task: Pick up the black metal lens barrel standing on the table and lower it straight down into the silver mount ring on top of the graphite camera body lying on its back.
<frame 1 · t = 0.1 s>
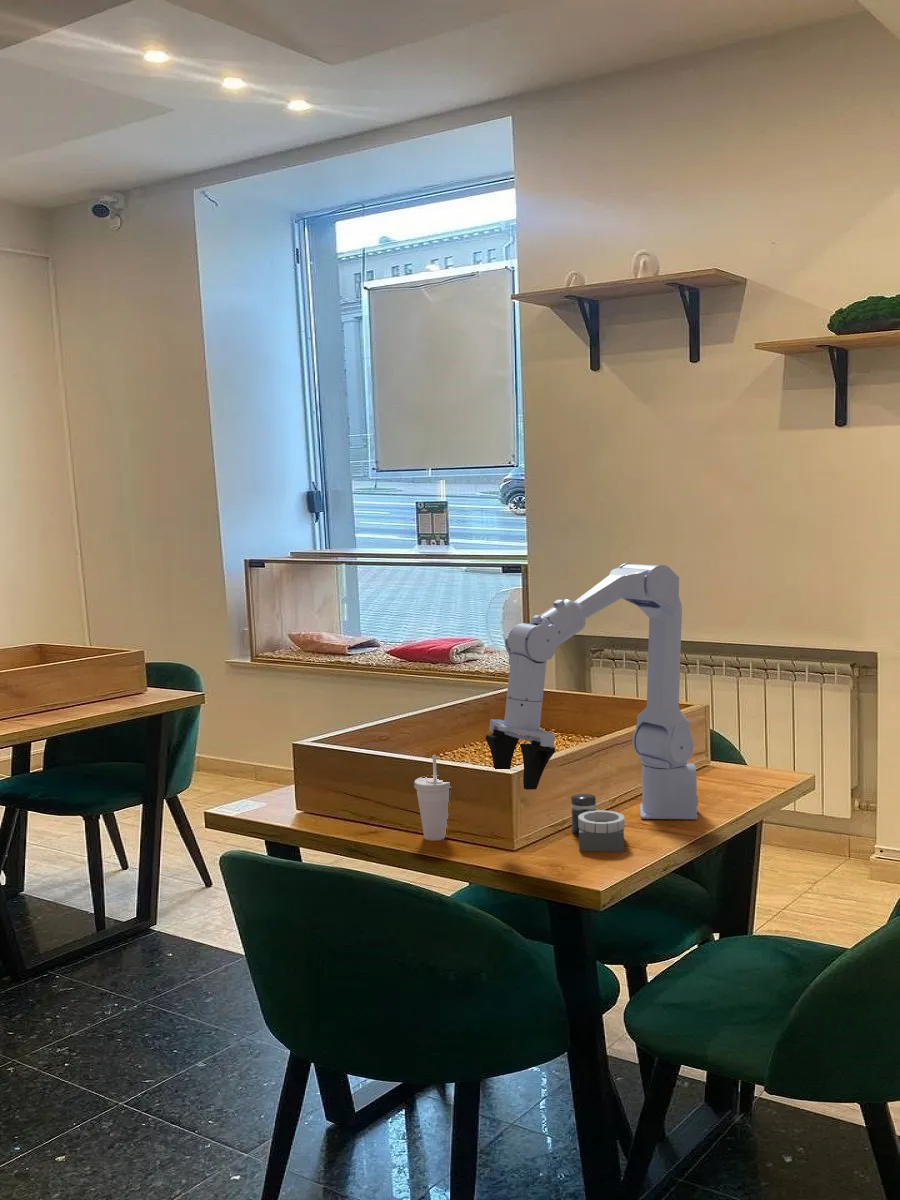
hand: (515, 784, 180), 10 cm above the table, tool pointing down, fingers open, 7 cm apart
camera body: (601, 844, 181), on the table
smoothie: (435, 838, 188), on the table
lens: (584, 832, 188), on the table
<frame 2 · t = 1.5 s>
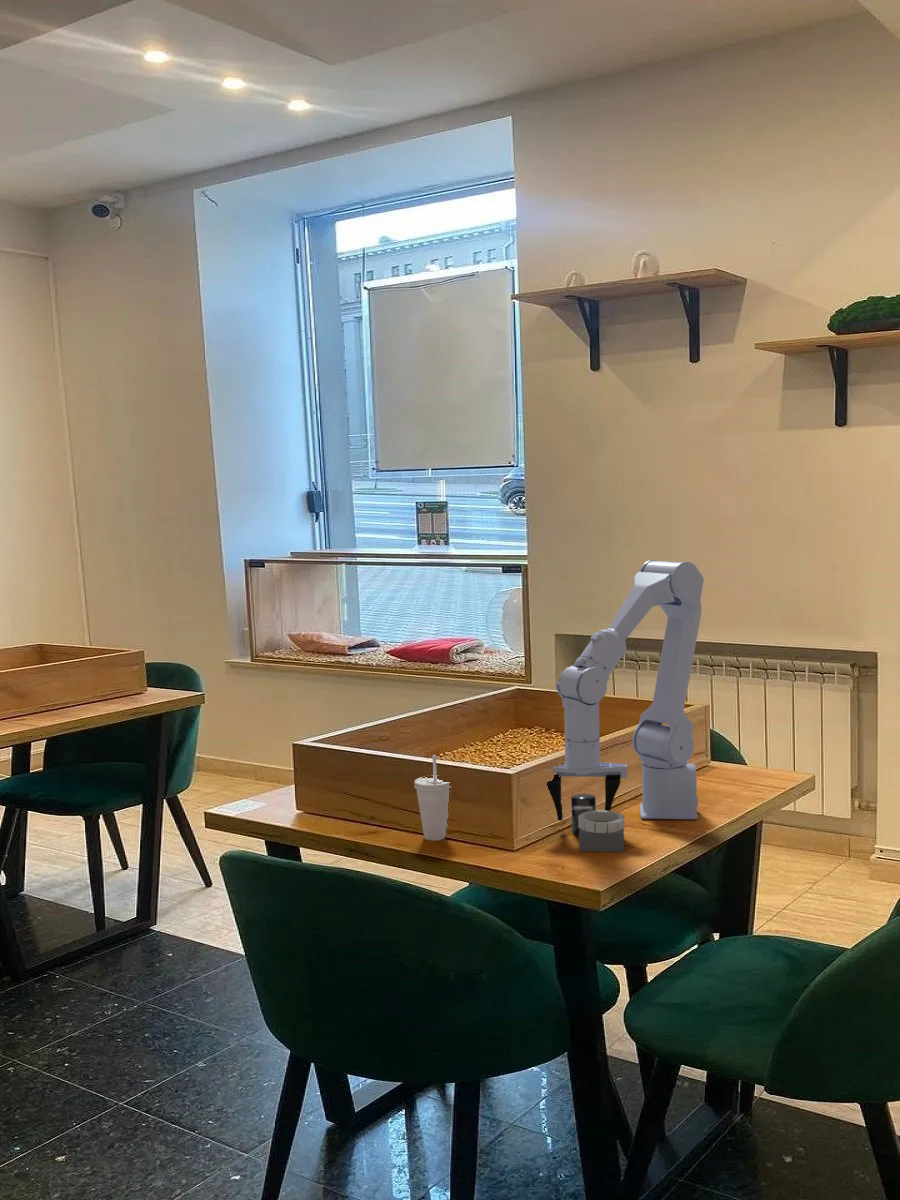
hand: (583, 819, 188), 2 cm above the table, tool pointing down, fingers open, 7 cm apart
nothing on the table moved.
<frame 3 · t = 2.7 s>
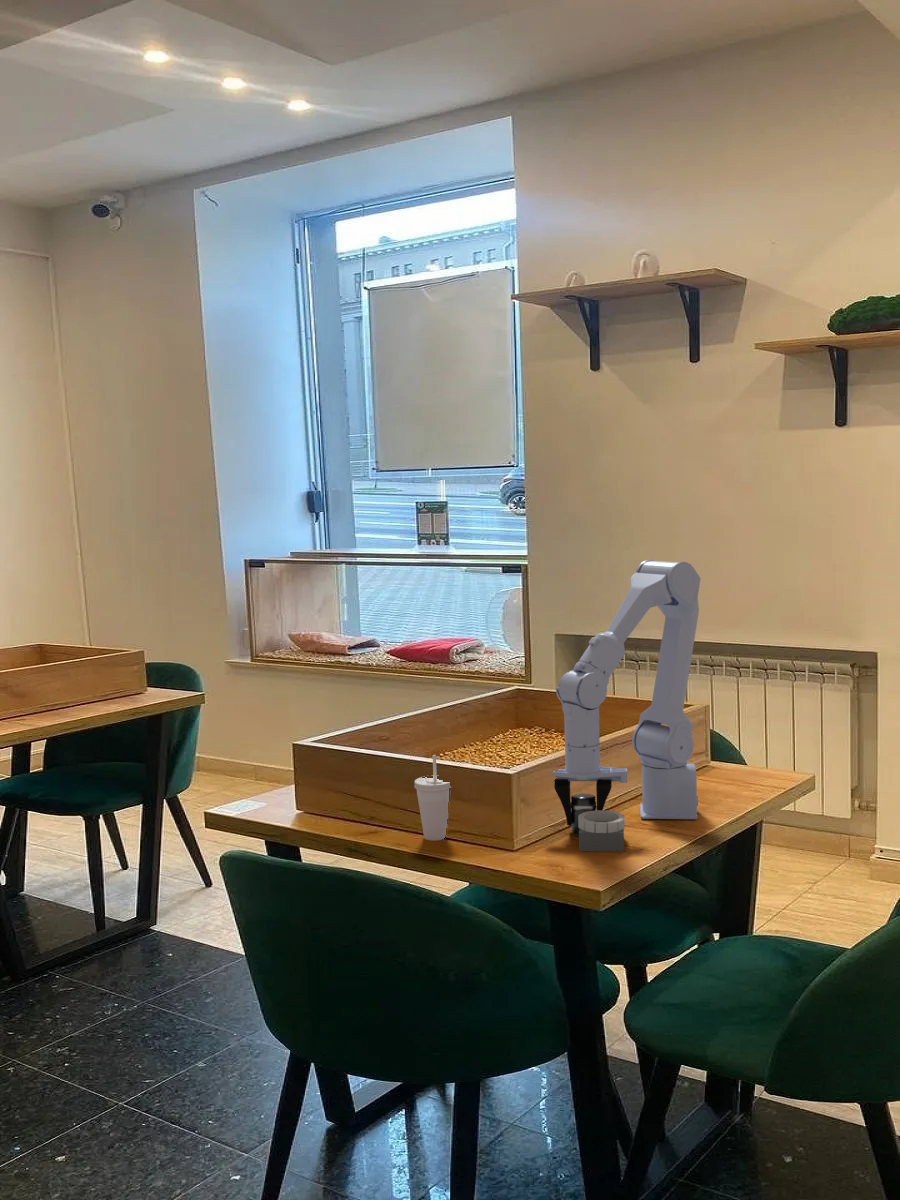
hand: (583, 823, 188), 1 cm above the table, tool pointing down, fingers closed on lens, 4 cm apart
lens: (584, 832, 188), on the table, touching gripper
everything else where it was.
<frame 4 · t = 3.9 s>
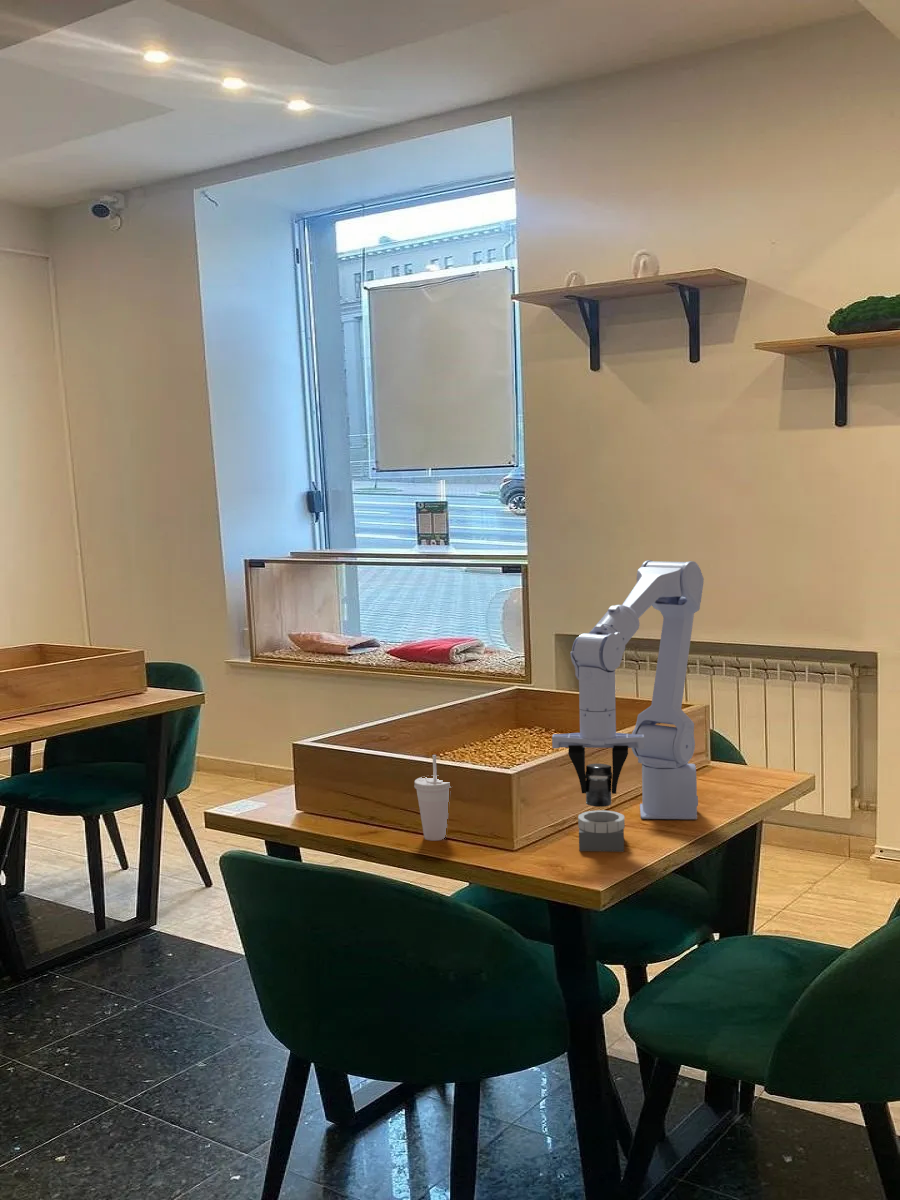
hand: (598, 792, 181), 8 cm above the table, tool pointing down, fingers closed on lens, 4 cm apart
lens: (598, 803, 181), point 7 cm above the table, touching gripper
everything else where it was.
when the fingers open (5 cm above the table, at t = 5.3 s): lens stays where it is, resting on camera body.
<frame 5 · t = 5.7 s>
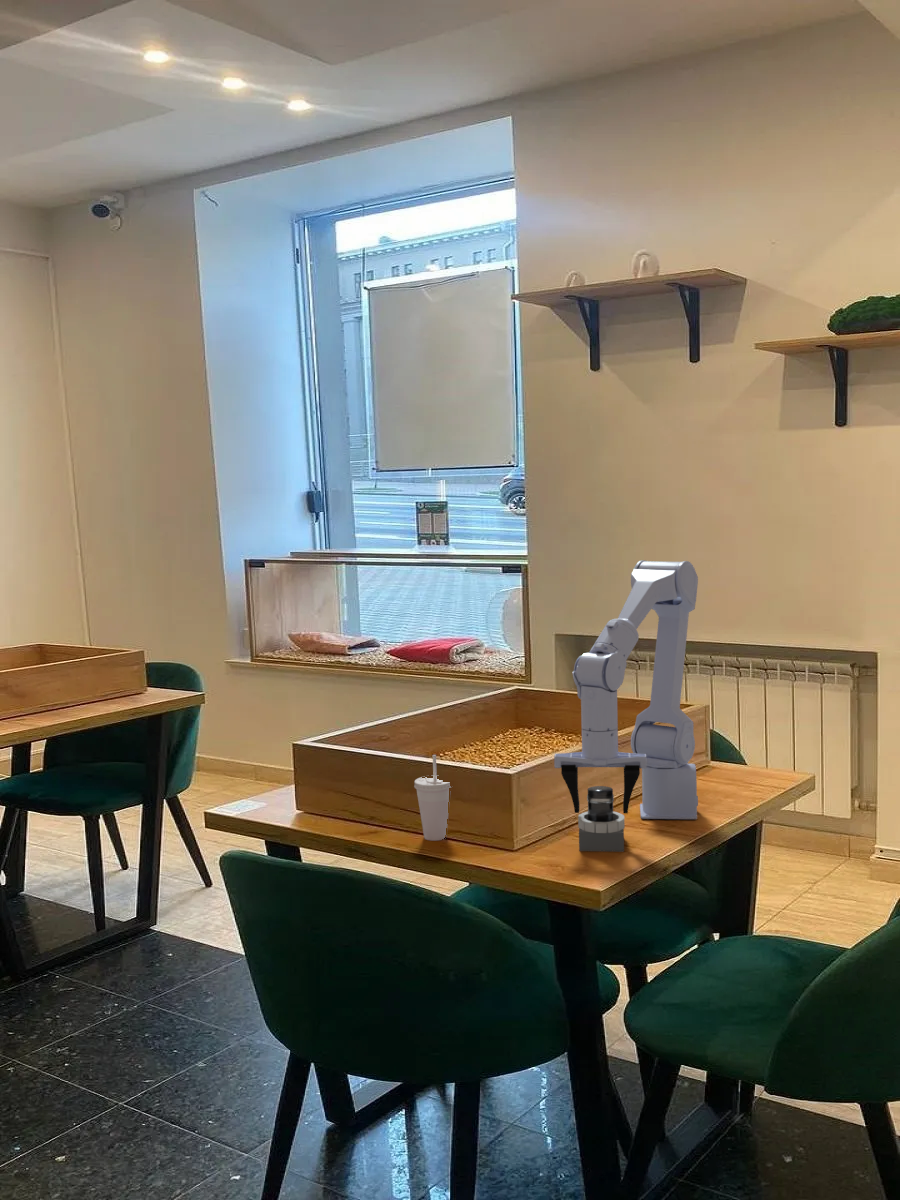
hand: (601, 811, 181), 5 cm above the table, tool pointing down, fingers open, 7 cm apart
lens: (600, 825, 181), point 3 cm above the table, touching camera body
everything else where it was.
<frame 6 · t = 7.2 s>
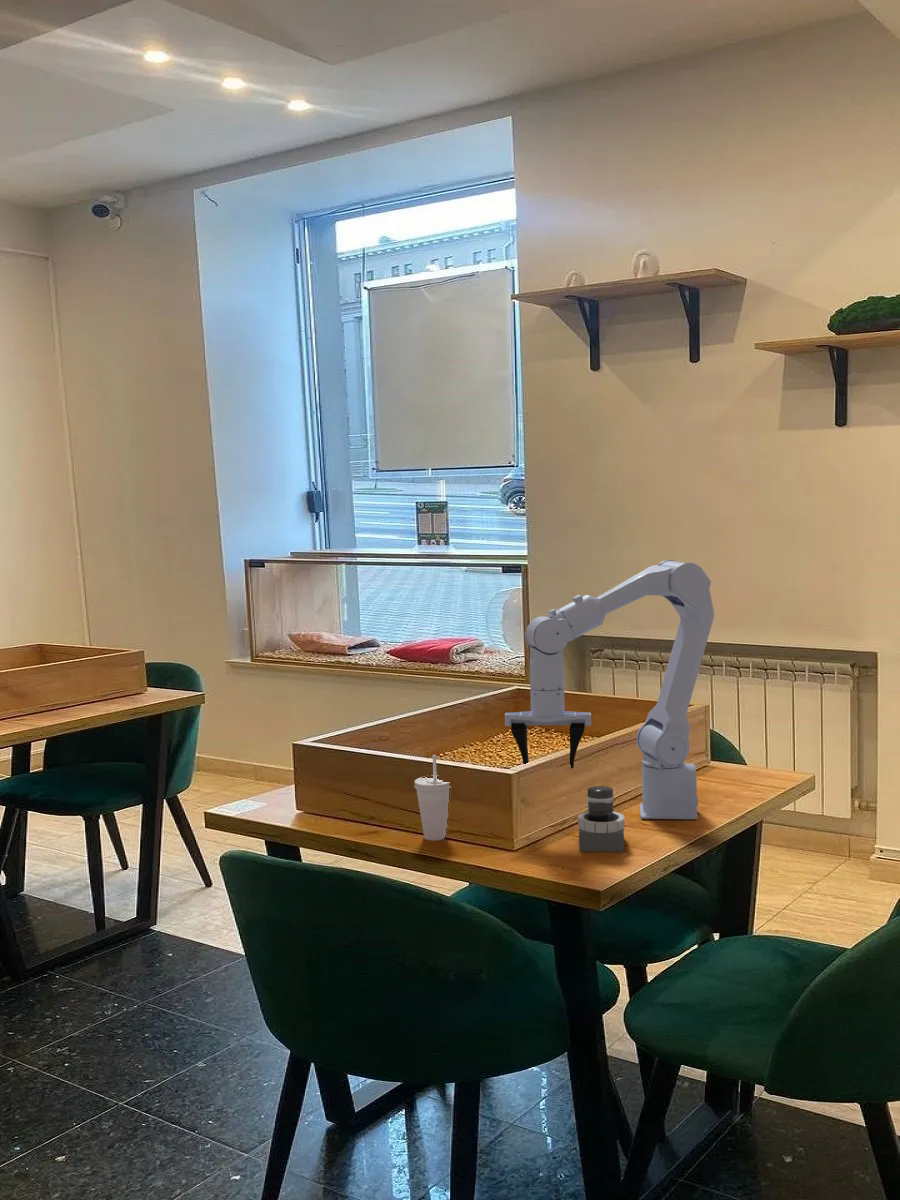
hand: (548, 766, 192), 10 cm above the table, tool pointing down, fingers open, 7 cm apart
nothing on the table moved.
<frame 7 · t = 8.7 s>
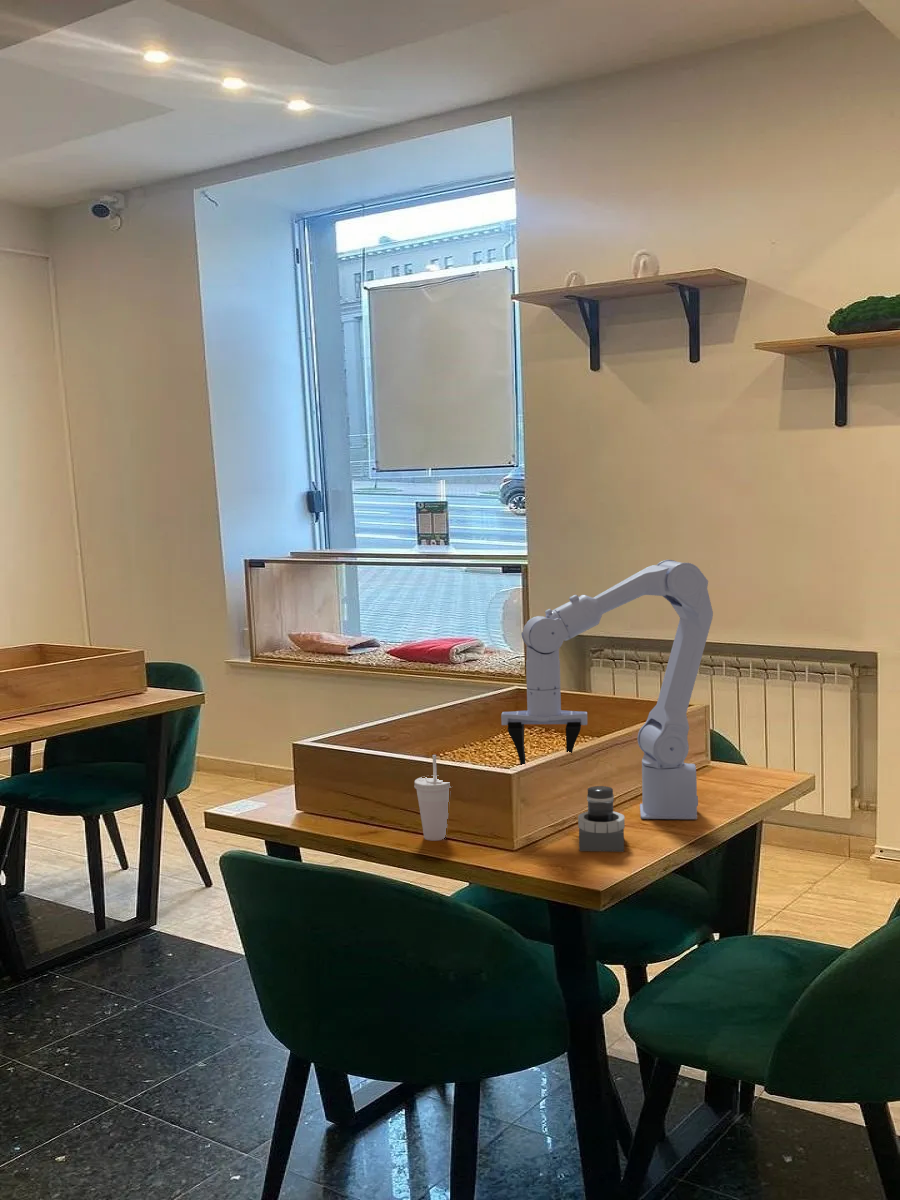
hand: (545, 765, 193), 10 cm above the table, tool pointing down, fingers open, 7 cm apart
nothing on the table moved.
at the end: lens 0.1 cm off-centre on the camera body, point 3.0 cm above the camera body's base; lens tilted 0°; the gripper is holding nothing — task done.
